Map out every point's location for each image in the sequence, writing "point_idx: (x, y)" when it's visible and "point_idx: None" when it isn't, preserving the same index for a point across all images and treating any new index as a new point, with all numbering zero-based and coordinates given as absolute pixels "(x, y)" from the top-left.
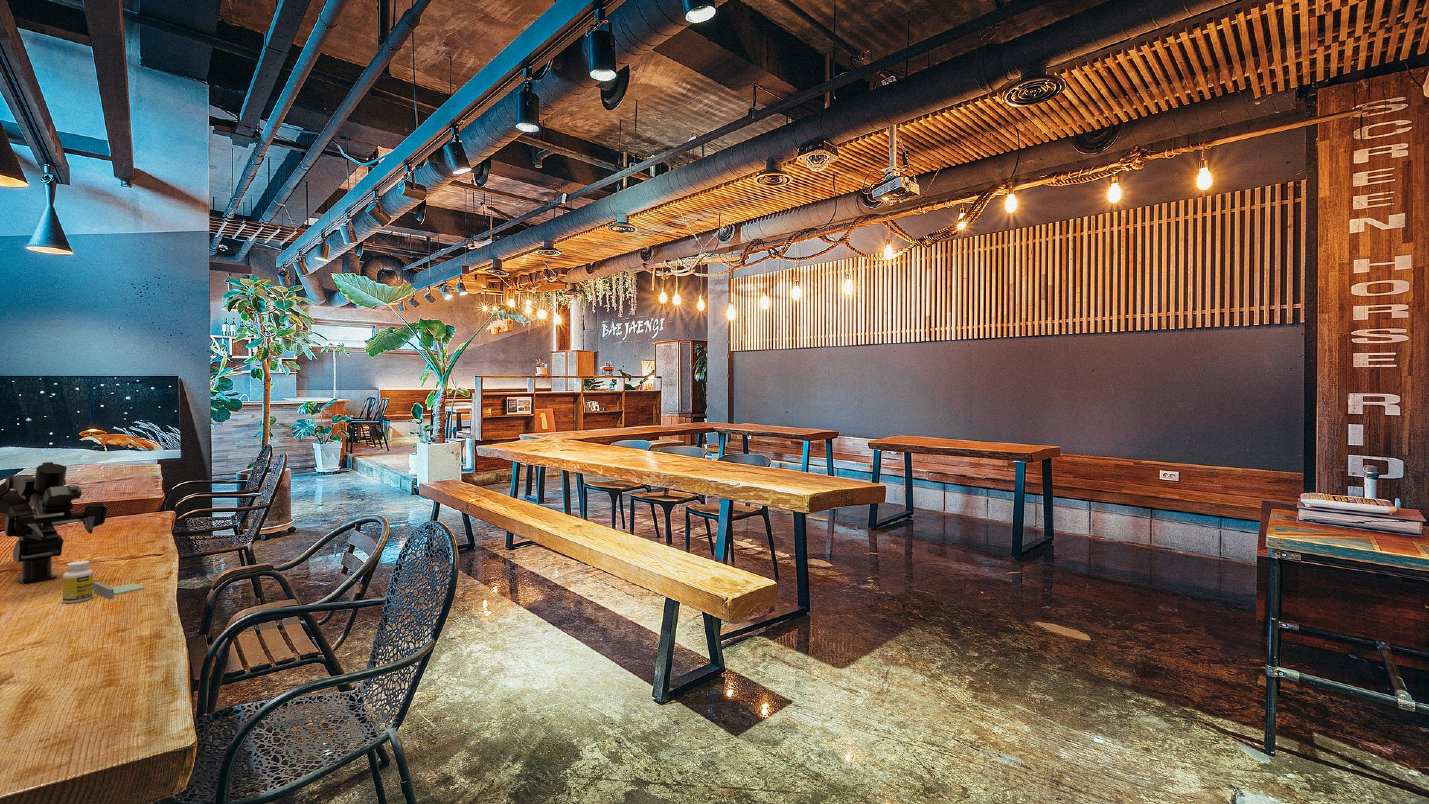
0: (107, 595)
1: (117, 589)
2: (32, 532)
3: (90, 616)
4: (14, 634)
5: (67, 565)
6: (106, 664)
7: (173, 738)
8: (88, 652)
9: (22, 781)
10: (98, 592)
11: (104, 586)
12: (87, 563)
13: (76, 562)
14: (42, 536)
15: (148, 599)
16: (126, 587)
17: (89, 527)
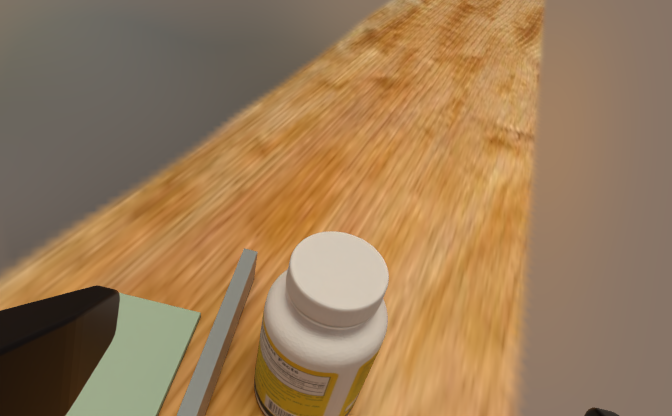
0: (248, 288)
1: (145, 365)
2: None
3: (377, 184)
4: (525, 215)
5: (387, 284)
6: (453, 30)
7: None
8: (455, 62)
9: None
10: (211, 394)
11: (226, 316)
12: (313, 236)
13: (341, 281)
14: (606, 411)
15: (215, 177)
16: (104, 360)
17: (82, 312)
